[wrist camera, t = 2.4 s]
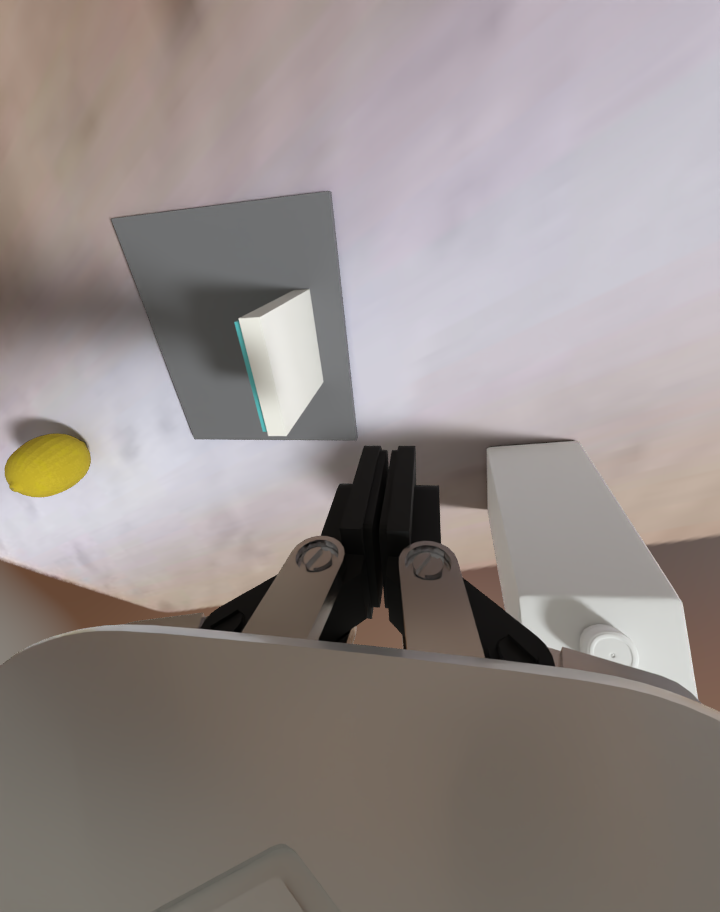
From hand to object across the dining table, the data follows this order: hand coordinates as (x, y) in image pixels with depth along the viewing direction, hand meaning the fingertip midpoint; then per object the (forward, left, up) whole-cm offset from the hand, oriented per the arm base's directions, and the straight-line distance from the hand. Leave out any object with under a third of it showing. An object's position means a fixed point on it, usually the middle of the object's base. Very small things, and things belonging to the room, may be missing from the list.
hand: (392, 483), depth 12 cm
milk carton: (+13, +10, -19) cm, 24 cm away
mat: (0, -13, -18) cm, 23 cm away
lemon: (+10, -35, -19) cm, 41 cm away
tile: (0, -8, -18) cm, 20 cm away
